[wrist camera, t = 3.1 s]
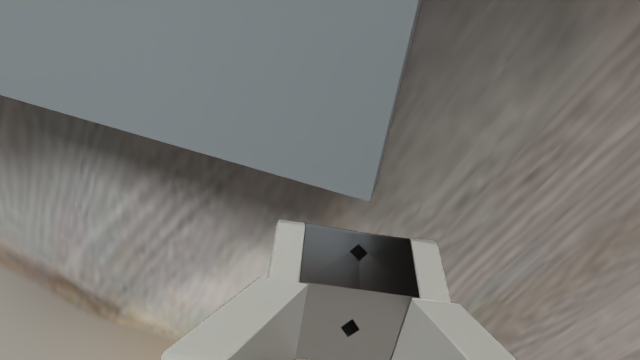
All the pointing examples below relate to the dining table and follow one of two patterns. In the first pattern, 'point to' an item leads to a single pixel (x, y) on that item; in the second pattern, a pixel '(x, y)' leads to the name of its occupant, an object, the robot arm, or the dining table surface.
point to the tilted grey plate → (223, 76)
